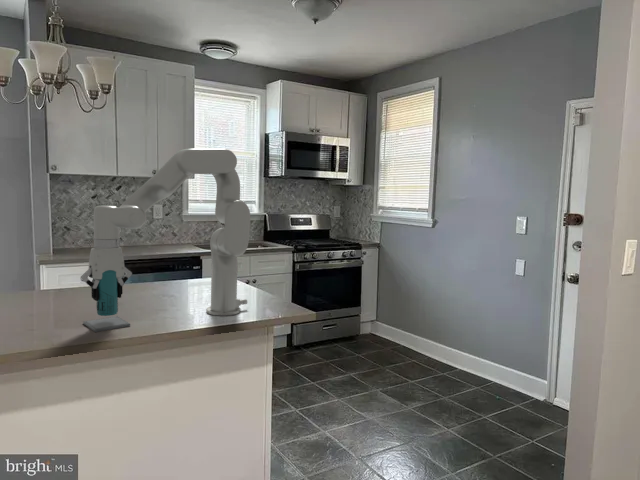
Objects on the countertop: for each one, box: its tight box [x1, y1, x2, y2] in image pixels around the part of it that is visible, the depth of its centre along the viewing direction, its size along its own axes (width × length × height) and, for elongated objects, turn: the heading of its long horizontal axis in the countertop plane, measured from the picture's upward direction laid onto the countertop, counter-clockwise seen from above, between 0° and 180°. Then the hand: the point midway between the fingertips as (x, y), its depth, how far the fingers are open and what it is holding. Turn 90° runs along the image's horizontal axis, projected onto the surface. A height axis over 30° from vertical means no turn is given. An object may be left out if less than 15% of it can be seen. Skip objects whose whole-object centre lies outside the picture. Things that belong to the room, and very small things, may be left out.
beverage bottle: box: [96, 270, 119, 317], centre depth 152 cm, size 6×7×20 cm
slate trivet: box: [82, 315, 131, 333], centre depth 153 cm, size 11×11×1 cm
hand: (107, 298), depth 153 cm, fingers closed on beverage bottle, 6 cm apart
